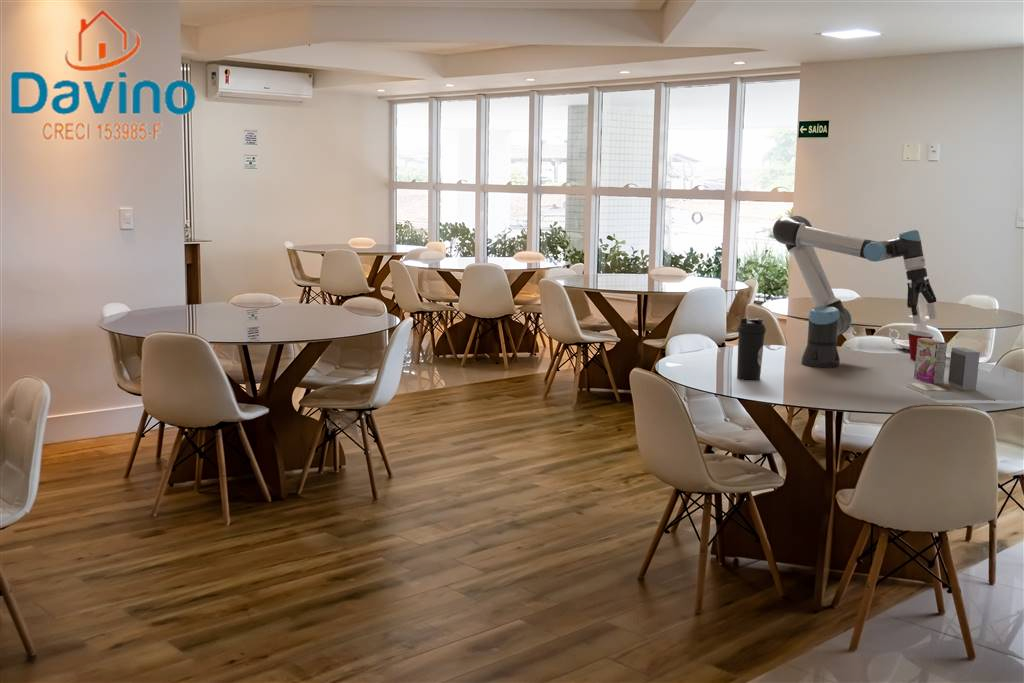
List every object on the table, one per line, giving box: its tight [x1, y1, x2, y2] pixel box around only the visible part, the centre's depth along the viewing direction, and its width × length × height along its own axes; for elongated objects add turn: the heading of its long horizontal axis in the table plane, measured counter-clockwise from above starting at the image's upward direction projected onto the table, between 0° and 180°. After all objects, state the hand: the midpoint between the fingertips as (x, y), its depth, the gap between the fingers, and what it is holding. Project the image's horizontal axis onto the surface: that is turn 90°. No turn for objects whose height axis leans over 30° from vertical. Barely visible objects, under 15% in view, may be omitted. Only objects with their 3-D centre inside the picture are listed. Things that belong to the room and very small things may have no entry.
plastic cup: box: [907, 330, 935, 361], centre depth 427 cm, size 11×11×12 cm
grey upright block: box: [947, 347, 981, 390], centre depth 363 cm, size 5×10×14 cm, turn 5°
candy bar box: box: [913, 338, 948, 384], centre depth 375 cm, size 11×5×16 cm, turn 17°
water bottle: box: [736, 316, 767, 382], centre depth 374 cm, size 10×10×23 cm
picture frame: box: [906, 382, 980, 395], centre depth 364 cm, size 21×13×1 cm, turn 95°
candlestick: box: [888, 292, 931, 351], centre depth 451 cm, size 21×25×28 cm
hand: (925, 321), depth 397 cm, fingers open, 13 cm apart
